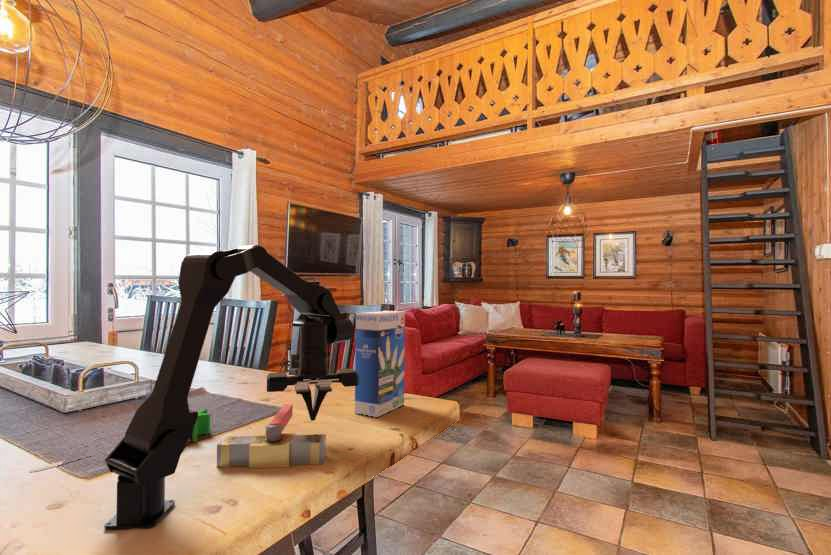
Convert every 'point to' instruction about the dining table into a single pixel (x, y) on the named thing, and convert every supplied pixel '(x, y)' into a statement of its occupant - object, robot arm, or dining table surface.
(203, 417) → the pipe clamp
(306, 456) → the block
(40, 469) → the butter knife
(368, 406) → the string lights box
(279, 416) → the lever
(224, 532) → the dining table surface
